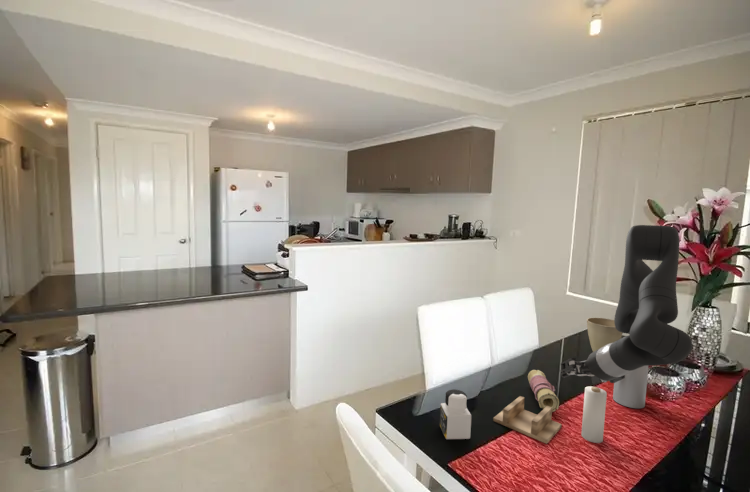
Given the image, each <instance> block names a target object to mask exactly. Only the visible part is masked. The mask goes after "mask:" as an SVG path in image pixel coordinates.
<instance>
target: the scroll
mask: <svg viewBox="0 0 750 492" xmlns="http://www.w3.org/2000/svg"><path fill="white" fill-rule="evenodd" d="M527 379H528V384H529V387H530V388H531V390H532V392H533V393H534V399H535V400H536V401H537V402H538V405H539V408H540V409H542V410H543V409H544V408H545V407H546V406H549V407H552V413H553V412H556V410H559V408H560V407H559V405H560V399H559V397H558V396H557V395H556V394H555V392H556V390H557V389H555V386H554V385H552V383H550V382H549V380H548V378H547V377H546V375H545V373H544V372H543V371H541V370H540V369H532V370H530V371H529V372H528V375H527Z"/></svg>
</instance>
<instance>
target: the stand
mask: <svg viewBox="0 0 750 492" xmlns="http://www.w3.org/2000/svg"><path fill="white" fill-rule="evenodd" d="M552 414H553V412H552V407H549V406H546V407H545V408H544V409H543V408H542V410H541V411H540V412H539V413H538V414H536V413H534V412H531V411H529V410H526V409H525V397H524V396H521V395H519V396H518V397H517V398H516V399H514V400H513V401H512V402H511V403H509V404H508V405H507V406H505V407H504V408H502V410H501V411H500V412H499V413H497V414H496V415H495V416H493V418H492V419H493V420H492V421H493V422H495V423H496V424H499V425H501V426H505V427H507V428H509V429H511V430H513V431H516V432H518V433H521V434H522V435H525V436H527V437H530V438H531V439H535V440H536V441H539V442H542V443H544V444H548V443H549V442H550V441H551V440H552V438H554V436H555V435H556V434H557V433H558V432H559V431H560V429H561V428H562V423H559V422H558V421H555V420H552Z"/></svg>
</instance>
